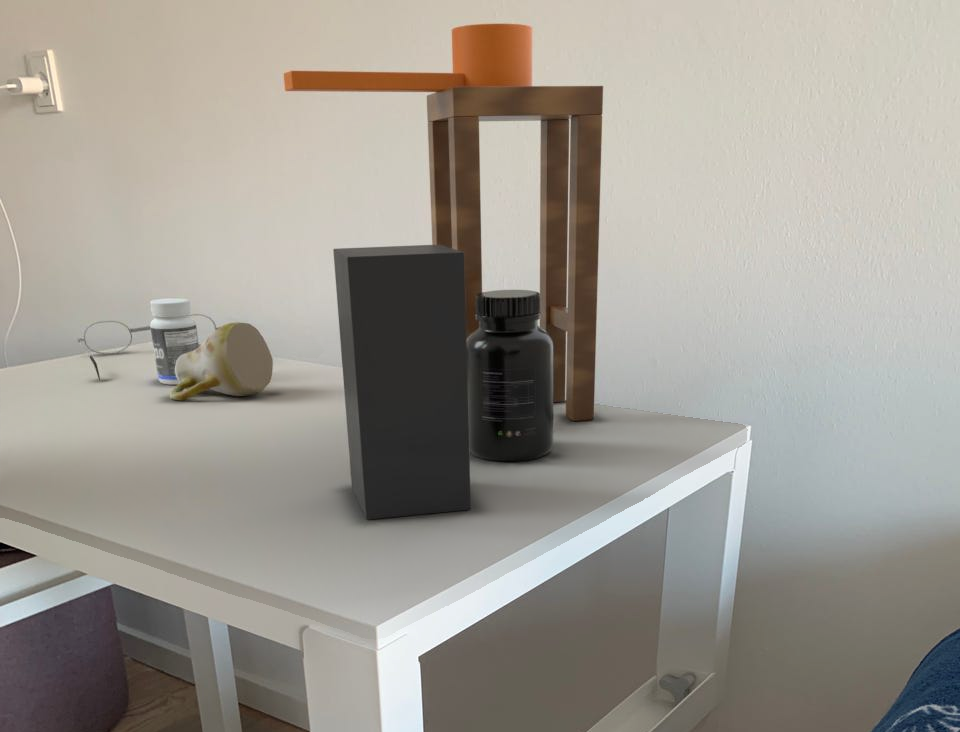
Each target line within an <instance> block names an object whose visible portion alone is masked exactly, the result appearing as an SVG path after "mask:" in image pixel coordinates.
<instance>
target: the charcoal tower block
mask: <svg viewBox="0 0 960 732" xmlns="http://www.w3.org/2000/svg"><path fill="white" fill-rule="evenodd" d="M333 262H334V278H335V288H336V289H335V290H336V303H337V314H338V316H337V317H338V328H339V338H340V339H339V341H340V354H341V366H342V379H343V389H344V390H343V391H344V405H345V417H346V429H347V443H348V457H349V468H350V480H351V481H350V482H351V491H352V493H353V495H354V496H355V499H356V501H357V503H358V505H359V507H360V509H361V511H362V514H363V516H364V517H365V520H367V521H369V520H379V519H387V518H399V517H408V516H418V515H420V516H421V515H429V514H430V515H431V514H439V513H440V514H441V513H449V512H450V513H451V512H459V511H469V510H471V508H472V507H471V506H472V502H471V500H472V499H471V465H470V464H471V461H470V458H471V457H470V449H469V419H468V380H467V342H466V303H465V264H464V252H461V251H458V250H455V249H452V248H449V247H445V246H442V245H432V244H419V245H417V244H416V245H415V244H414V245H393V246H392V245H391V246H368V247H366V246H365V247H344V248H333Z"/></svg>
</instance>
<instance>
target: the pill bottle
mask: <svg viewBox="0 0 960 732" xmlns="http://www.w3.org/2000/svg"><path fill="white" fill-rule="evenodd" d="M190 303H191V302H190V300H189V299H187V298H180V297H179V298H177V297H175V298H174V297H173V298H172V297H170V298H158V299H152V300H150V302H149V304H150V313H151V316H153V317H154V318H153V319H152V320H151V322H150V324H149V326H150V328H151V330H150V335H151V340H152V346H153V354H154V360H155V365H156V372H157V378H158V381H159V382H160V383H161V384H163V385H171V386H172V385H175V386H177V385H178V384H180V382H179V381H178V379H177V377H176V374H175V365H176V361H177V359H178V358H179V357H180V356H181V355H183V354H185V353H188V352H191V351H194V350H196V349H197V348H198V347H199V345H200V343H199V337H198V329H197V323H196V320H195V319H194V318H192V317H191V316H189V315H190V314H192V312H191V305H190Z"/></svg>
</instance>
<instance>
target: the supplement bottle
mask: <svg viewBox="0 0 960 732" xmlns="http://www.w3.org/2000/svg"><path fill="white" fill-rule="evenodd" d="M540 319H541V311H540V292H539V291H536V290H529V289H497V290H489V291H488V290H487V291H482V293H479V294H477V295H476V320H477V321H479V328H478V329H476V330H475V331H474V332H472V333H471V334H470V335H469V336H468V338H467V340H466V342H467V380H468V419H469V452H470V453H471V454H473V456H475V457H477V458H479V459H483V460H487V461H494V462H521V461H529V460H534V459H538V458H541V457H543V456H545V455H547V454H548V453H550V451H551V450H552V448H553V446H554V402H553V341H552V339H551V337H550V335H549V334H548V333H547V332H546V331H545V330H543V329H542V328H540V325H539V324H538V323H539V320H540Z"/></svg>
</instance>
